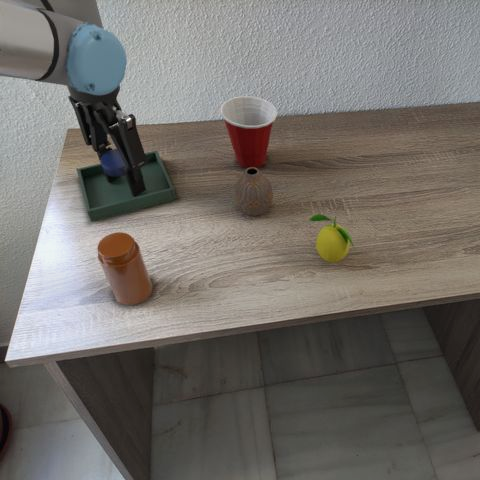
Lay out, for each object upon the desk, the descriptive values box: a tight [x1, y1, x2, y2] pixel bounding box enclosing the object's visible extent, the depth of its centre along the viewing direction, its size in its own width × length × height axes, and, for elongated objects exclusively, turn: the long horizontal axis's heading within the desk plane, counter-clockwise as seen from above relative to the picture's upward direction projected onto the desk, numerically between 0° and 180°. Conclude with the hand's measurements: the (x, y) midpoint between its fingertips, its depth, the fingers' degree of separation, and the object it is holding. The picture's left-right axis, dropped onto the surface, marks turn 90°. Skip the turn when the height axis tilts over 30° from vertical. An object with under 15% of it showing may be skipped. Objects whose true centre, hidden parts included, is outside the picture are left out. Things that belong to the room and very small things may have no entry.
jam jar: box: [97, 231, 154, 306], centre depth 69 cm, size 6×6×11 cm
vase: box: [233, 167, 274, 217], centre depth 84 cm, size 7×7×9 cm
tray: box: [76, 150, 178, 223], centre depth 89 cm, size 15×13×2 cm
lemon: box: [308, 213, 355, 263], centre depth 76 cm, size 7×6×10 cm
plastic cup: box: [219, 95, 278, 169], centre depth 93 cm, size 11×11×12 cm
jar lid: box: [99, 148, 126, 177], centre depth 85 cm, size 6×6×2 cm
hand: (126, 185), depth 89 cm, fingers closed on jar lid, 6 cm apart
